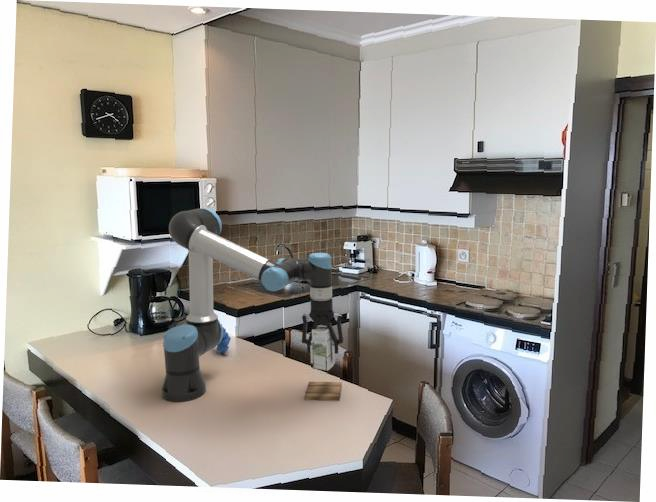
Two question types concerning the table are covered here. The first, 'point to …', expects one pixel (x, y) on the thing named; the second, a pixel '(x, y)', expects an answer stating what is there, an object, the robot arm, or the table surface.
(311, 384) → the square wooden board
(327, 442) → the table surface
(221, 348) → the grapes
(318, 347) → the syrup box
